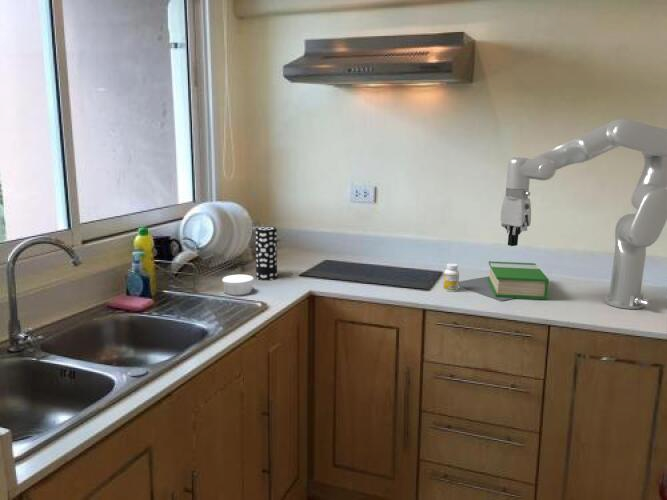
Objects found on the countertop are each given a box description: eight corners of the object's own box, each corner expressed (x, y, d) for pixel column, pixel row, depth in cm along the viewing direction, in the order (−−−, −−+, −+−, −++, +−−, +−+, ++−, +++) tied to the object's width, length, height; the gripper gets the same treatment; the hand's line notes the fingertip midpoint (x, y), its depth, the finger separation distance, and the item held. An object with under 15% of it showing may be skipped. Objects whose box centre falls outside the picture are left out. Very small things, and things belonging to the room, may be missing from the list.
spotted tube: (280, 278, 226) (280, 229, 222) (262, 281, 221) (261, 231, 217) (271, 273, 233) (270, 225, 228) (252, 276, 228) (251, 227, 224)
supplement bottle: (448, 286, 217) (450, 262, 215) (460, 289, 213) (462, 264, 211) (440, 289, 213) (442, 264, 211) (452, 292, 210) (454, 267, 208)
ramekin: (216, 294, 205) (216, 280, 204) (233, 286, 215) (232, 272, 214) (243, 298, 201) (243, 283, 200) (259, 289, 211) (259, 276, 210)
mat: (547, 292, 212) (547, 291, 212) (501, 301, 200) (501, 300, 200) (495, 275, 234) (495, 275, 234) (451, 283, 222) (451, 282, 222)
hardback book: (497, 277, 202) (488, 261, 226) (495, 297, 204) (487, 279, 227) (548, 279, 200) (534, 263, 223) (546, 299, 202) (533, 281, 225)
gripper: (541, 195, 192) (536, 248, 196) (508, 190, 205) (504, 240, 209) (526, 196, 189) (521, 250, 193) (493, 191, 201) (489, 242, 205)
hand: (512, 245), depth 201 cm, fingers closed
